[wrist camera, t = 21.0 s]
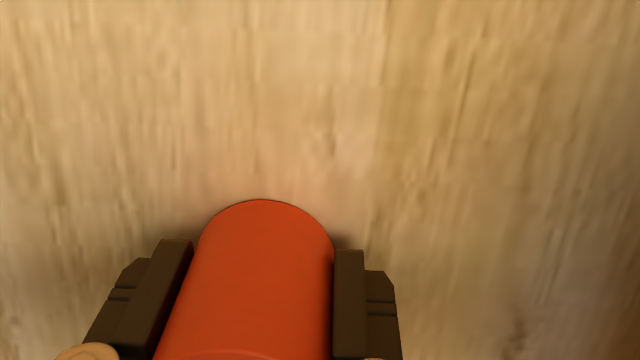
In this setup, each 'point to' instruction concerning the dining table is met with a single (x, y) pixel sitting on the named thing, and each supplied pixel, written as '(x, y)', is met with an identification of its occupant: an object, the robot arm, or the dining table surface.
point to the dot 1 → (255, 289)
